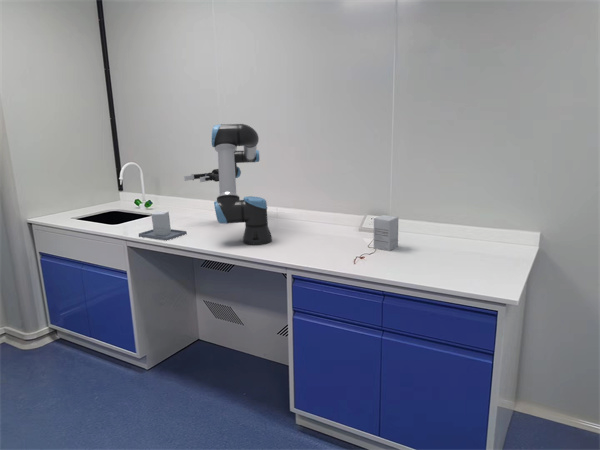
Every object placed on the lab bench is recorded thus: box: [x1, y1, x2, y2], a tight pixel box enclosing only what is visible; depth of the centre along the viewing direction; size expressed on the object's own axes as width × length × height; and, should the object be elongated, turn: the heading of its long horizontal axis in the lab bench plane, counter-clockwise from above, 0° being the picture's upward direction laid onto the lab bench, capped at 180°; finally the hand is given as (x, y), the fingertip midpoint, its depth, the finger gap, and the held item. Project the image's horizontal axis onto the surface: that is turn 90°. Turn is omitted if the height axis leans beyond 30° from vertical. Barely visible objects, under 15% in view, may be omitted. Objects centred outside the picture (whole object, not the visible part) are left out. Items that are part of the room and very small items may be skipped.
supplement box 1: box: [151, 211, 171, 236], centre depth 239 cm, size 7×7×13 cm
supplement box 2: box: [373, 214, 399, 252], centre depth 204 cm, size 9×9×15 cm
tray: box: [138, 228, 187, 242], centre depth 241 cm, size 22×15×2 cm
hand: (192, 179), depth 245 cm, fingers open, 13 cm apart
